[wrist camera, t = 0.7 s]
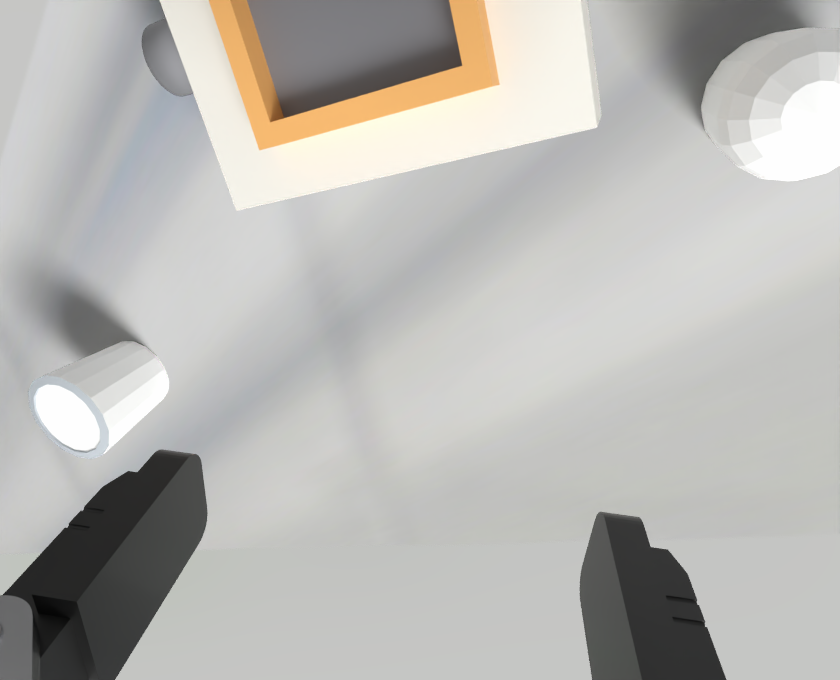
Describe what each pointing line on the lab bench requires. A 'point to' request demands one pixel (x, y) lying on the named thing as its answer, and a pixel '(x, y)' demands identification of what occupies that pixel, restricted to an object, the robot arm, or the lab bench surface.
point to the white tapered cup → (98, 398)
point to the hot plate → (371, 83)
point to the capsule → (778, 104)
